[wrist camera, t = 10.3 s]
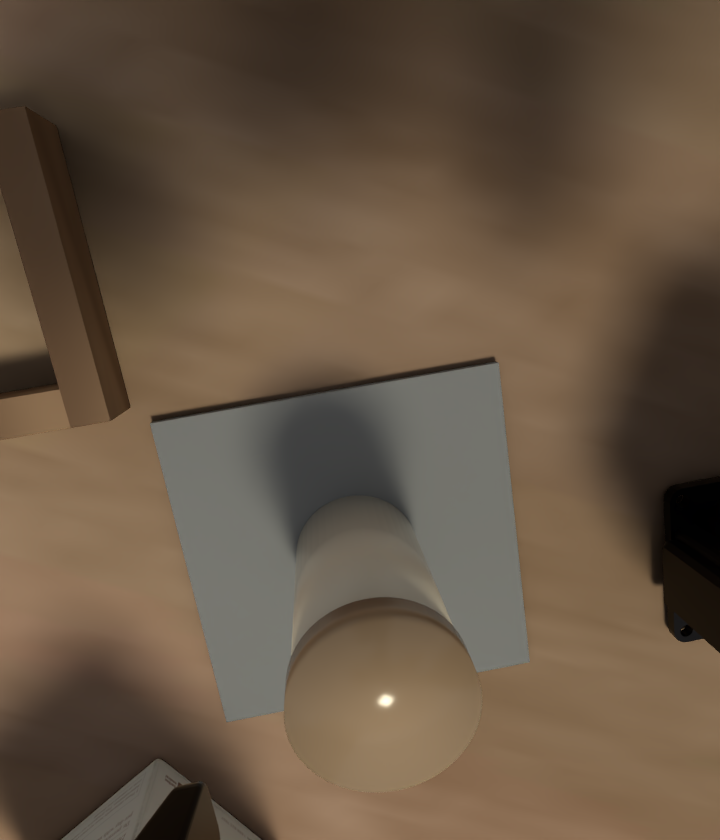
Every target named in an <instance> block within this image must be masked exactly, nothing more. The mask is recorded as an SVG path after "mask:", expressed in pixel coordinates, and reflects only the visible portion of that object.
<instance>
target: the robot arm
mask: <svg viewBox="0 0 720 840" xmlns="http://www.w3.org/2000/svg"><path fill="white" fill-rule="evenodd" d="M681 495H683V498H682V500H681V501H680V502H679V503H676V501H677V498H678V497H679V496H681ZM664 526H665V543H664V546H663V548H662V550H663V576H664V601H665V604H666V605H667V606H668V628H669V632H670V633H671V634H672V635H673V636H674V637H675V638H676V639H677V640H679V641H681V642H689V641H694V640H699V639H705V640H706V641H707V642H708V643H709V644H710V645H712V646H713V647H714V648H715V649H716V650H717V651H718V652H719V653H720V477H715V478H710V479H705V480H699V481H694V482H689V483H683V484H678V485H674V486H672V487H670V488H669V489H668V490H667V491H666V493H665V494H664ZM685 625H686V627H685V628H684V629H683V630H681V628H682V627H683V626H685ZM134 840H220V832H219V826H218V822H217V819H216V815H215V811H214V808H213V804H212V800H211V797H210V793H209V790H208V787H207V785H206V784H205V783H204V782H200V781H199V782H194V783H189V784H184V785H180V786H177V787H175V788H174V789H173V790H172V791H171V792H170V793H169V794H168V796H167V797H166V798H165V800H164V801H163V802H162V804H161V805H160V806H159V808H158V809H157V810H156V812H155V813H154V814H153V816H152V817H151V818H150V820H149V821H148V822H147V824H146V825H145V826H144V827H143V829H142V830H141V831H140V833H139V834H138V835H137V837H136V838H135V839H134Z"/></svg>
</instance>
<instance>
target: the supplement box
mask: <svg viewBox="0 0 720 840" xmlns="http://www.w3.org/2000/svg"><path fill="white" fill-rule="evenodd" d="M189 783H191V782H190V781H189V780H187V779H186V778H185V777H184V776H182V775H181V774H180V773H178V772H177V771H176V770H175V769H173V768H172V767H171V766H170V765H168V764H167V763H166V762H164V761H163V760H161V759H156V760H154V761H153V762H152V763H151V764H150V765H149V766H147V767H146V768H145V769H144V770H143V771H142V772H140V773H139V774H138V775H137V776H135V777H134V778H133V779H132V780H131V781H129V782H128V783H127V784H126V785H125V786H124V787H122V788H121V789H120V790H119V791H118V792H116V793H115V794H114V795H113V796H112V797H111V798H109V799H108V800H107V801H106V802H105V803H104V804H102V805H101V806H100V807H99V808H98V809H96V810H95V811H94V812H93V813H92V814H91V815H89V816H88V817H87V818H86V819H85V820H83V821H82V822H81V823H80V824H79V825H78V826H76V827H75V828H74V829H73V830H72V831H71V832H69V833H68V834H67V835H66V836H65V837H63V838H62V839H61V840H134V839H135V838H136V837H137V835H138V834H139V833H140V831H141V830H142V829H143V827H144V826H145V825H146V824H147V822H148V821H149V820H150V818H151V817H152V816H153V814H154V813H155V812H156V810H157V809H158V808H159V806H160V805H161V804H162V802H163V801H164V800H165V798H166V797H167V796H168V794H169V793H170V792H171V791H172V790H173V789H174V788H175V787H177V786H180V785H184V784H189ZM211 800H212V799H211ZM212 804H213V808H214V811H215V815H216V819H217V822H218V826H219V832H220V840H261V839H260V838H259V837H258V836H256V835H255V834H254V833H252V832H251V831H250V830H249V829H248V828H247V827H246V826H244V825H243V824H242V823H240V822H239V821H238V820H237V819H236V818H234V817H233V816H232V815H231V814H230V813H228V812H227V811H226V810H225V809H223V808H222V807H221V806H220V805H218V804H217V803H216V802H215V801H213V800H212Z"/></svg>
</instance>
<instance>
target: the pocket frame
mask: <svg viewBox="0 0 720 840" xmlns="http://www.w3.org/2000/svg"><path fill="white" fill-rule="evenodd" d="M0 187H1V190H2V194H3V197H4V201H5V204H6V207H7V211H8V214H9V218H10V221H11V225H12V228H13V231H14V235H15V238H16V242H17V245H18V249H19V252H20V256H21V259H22V262H23V266H24V269H25V273H26V276H27V280H28V283H29V286H30V290H31V293H32V297H33V300H34V304H35V307H36V311H37V314H38V317H39V321H40V324H41V328H42V331H43V335H44V338H45V341H46V345H47V348H48V352H49V355H50V359H51V362H52V366H53V369H54V372H55V376H56V379H57V383H58V384H52V385H46V386H40V387H34V388H28V389H23V390H17V391H11V392H5V393H0V440H4V439H10V438H16V437H22V436H27V435H33V434H39V433H45V432H50V431H56V430H62V429H68V428H73V427H79V426H85V425H91V424H96V423H102V422H108V421H111V420H113V419H114V418H116V417H117V416H119V415H120V414H122V413H123V412H124V411H126V410H127V409H129V408H130V404H129V401H128V397H127V393H126V389H125V385H124V382H123V378H122V374H121V370H120V366H119V363H118V359H117V355H116V351H115V347H114V344H113V340H112V336H111V332H110V328H109V325H108V321H107V317H106V313H105V309H104V306H103V302H102V298H101V294H100V290H99V287H98V283H97V279H96V275H95V271H94V267H93V264H92V260H91V256H90V252H89V248H88V245H87V241H86V237H85V233H84V229H83V226H82V222H81V218H80V214H79V210H78V207H77V203H76V199H75V195H74V191H73V188H72V184H71V180H70V176H69V172H68V169H67V165H66V161H65V157H64V153H63V150H62V146H61V142H60V138H59V134H58V131H57V127H56V125H54V124H52V123H51V122H49V121H48V120H46V119H44V118H43V117H41V116H40V115H38V114H36V113H35V112H33V111H32V110H30V109H28V108H27V107H25V106H21V107H14V108H7V109H1V110H0Z"/></svg>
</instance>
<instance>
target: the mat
mask: <svg viewBox="0 0 720 840" xmlns="http://www.w3.org/2000/svg"><path fill="white" fill-rule="evenodd" d="M150 425H151V429H152V433H153V437H154V441H155V445H156V449H157V452H158V456H159V460H160V464H161V468H162V472H163V476H164V480H165V484H166V488H167V492H168V495H169V499H170V503H171V507H172V511H173V515H174V519H175V523H176V527H177V531H178V534H179V538H180V542H181V546H182V550H183V554H184V558H185V562H186V566H187V570H188V573H189V577H190V581H191V585H192V589H193V593H194V597H195V601H196V605H197V609H198V612H199V616H200V620H201V624H202V628H203V632H204V636H205V640H206V644H207V648H208V651H209V655H210V659H211V663H212V667H213V671H214V675H215V679H216V683H217V687H218V691H219V694H220V698H221V702H222V706H223V710H224V714H225V718H226V722H230V721H235V720H240V719H245V718H250V717H256V716H261V715H266V714H271V713H276V712H281V711H284V699H285V683H286V674H287V667H288V664H289V661H290V658H291V648H292V628H293V609H294V590H295V570H296V551H297V543H298V539H299V536H300V533H301V531H302V529H303V527H304V525H305V524H306V522H307V521H308V520H309V518H310V517H311V516H312V515H313V514H314V513H315V512H316V511H317V510H318V509H320V508H321V507H323V506H324V505H326V504H328V503H329V502H331V501H334V500H336V499H339V498H343V497H347V496H355V495H364V496H371V497H375V498H379V499H381V500H384V501H386V502H388V503H390V504H392V505H393V506H395V507H396V508H397V509H399V510H400V511H401V512H402V513H403V514H404V515H405V517H406V518H407V519H408V521H409V522H410V524H411V526H412V528H413V530H414V533H415V535H416V538H417V540H418V543H419V545H420V547H421V550H422V552H423V555H424V557H425V559H426V562H427V564H428V567H429V569H430V572H431V574H432V576H433V579H434V581H435V584H436V586H437V589H438V591H439V593H440V596H441V598H442V601H443V603H444V605H445V608H446V610H447V613H448V615H449V618H450V620H451V622H452V625H453V626H454V628H455V629H456V630H457V631H458V633H459V634H460V636H461V638H462V640H463V641H464V643H465V646H466V648H467V650H468V653H469V655H470V657H471V660H472V662H473V664H474V667H475V669H476V672H482V671H487V670H492V669H498V668H503V667H508V666H513V665H518V664H523V663H528V662H530V660H529V651H528V641H527V631H526V622H525V612H524V603H523V593H522V583H521V574H520V564H519V554H518V545H517V535H516V526H515V516H514V506H513V497H512V487H511V478H510V468H509V458H508V449H507V439H506V429H505V420H504V410H503V401H502V391H501V381H500V372H499V363H498V362H491V363H485V364H479V365H473V366H468V367H462V368H456V369H451V370H445V371H439V372H433V373H428V374H422V375H416V376H410V377H405V378H399V379H393V380H387V381H382V382H376V383H370V384H364V385H359V386H353V387H347V388H342V389H336V390H330V391H324V392H319V393H313V394H307V395H301V396H296V397H290V398H284V399H278V400H273V401H267V402H261V403H255V404H250V405H244V406H238V407H233V408H227V409H221V410H215V411H210V412H204V413H198V414H192V415H187V416H181V417H175V418H169V419H164V420H158V421H152V422H151V423H150Z"/></svg>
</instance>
